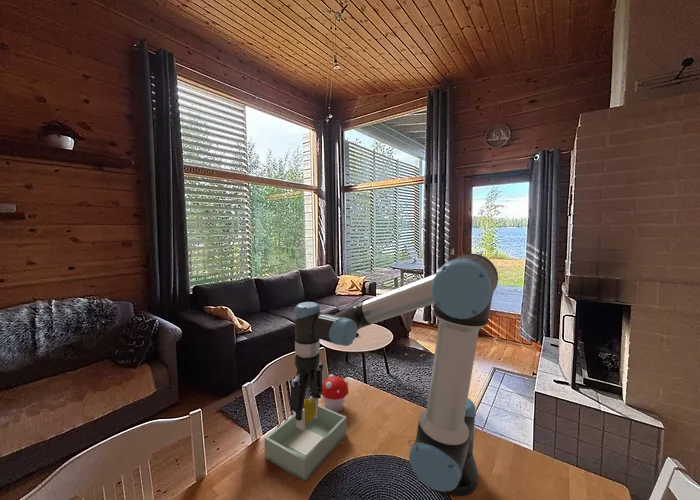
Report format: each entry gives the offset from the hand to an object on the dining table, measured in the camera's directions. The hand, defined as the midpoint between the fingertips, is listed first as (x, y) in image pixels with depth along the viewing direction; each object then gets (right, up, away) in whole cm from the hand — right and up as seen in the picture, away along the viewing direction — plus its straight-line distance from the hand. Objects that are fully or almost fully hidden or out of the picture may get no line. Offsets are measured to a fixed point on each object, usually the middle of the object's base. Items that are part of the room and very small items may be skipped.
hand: (307, 422), depth 97 cm
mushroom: (+8, -6, +21) cm, 23 cm away
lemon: (0, 0, 0) cm, 1 cm away
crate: (0, -8, +1) cm, 8 cm away
